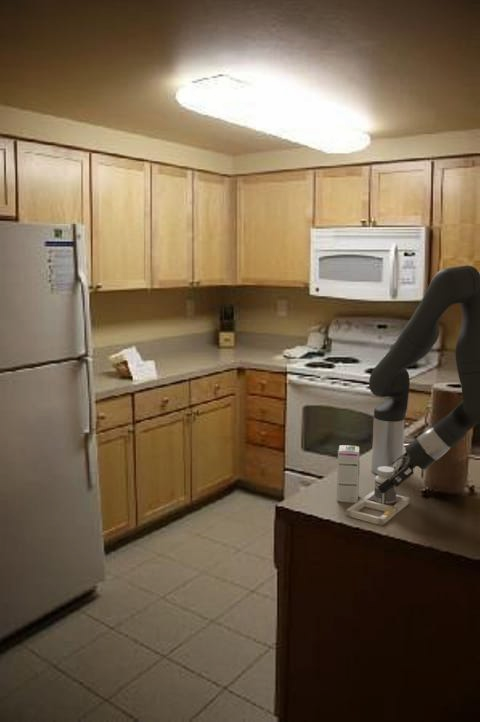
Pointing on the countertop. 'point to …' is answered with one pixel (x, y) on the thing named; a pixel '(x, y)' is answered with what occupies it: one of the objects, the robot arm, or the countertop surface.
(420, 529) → the countertop surface
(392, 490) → the pill bottle
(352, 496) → the syrup box
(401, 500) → the plate
